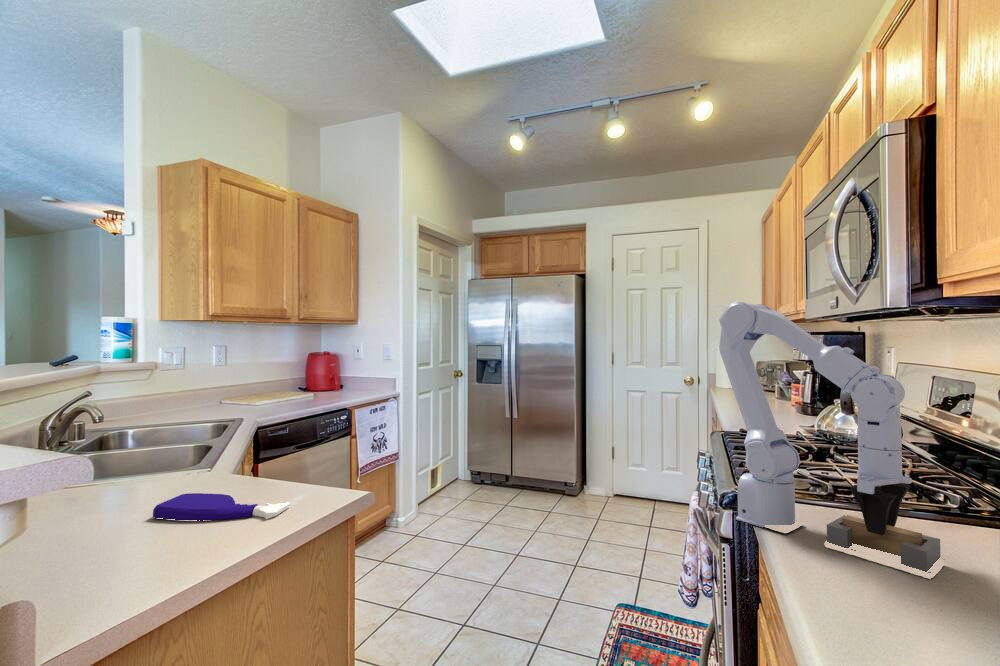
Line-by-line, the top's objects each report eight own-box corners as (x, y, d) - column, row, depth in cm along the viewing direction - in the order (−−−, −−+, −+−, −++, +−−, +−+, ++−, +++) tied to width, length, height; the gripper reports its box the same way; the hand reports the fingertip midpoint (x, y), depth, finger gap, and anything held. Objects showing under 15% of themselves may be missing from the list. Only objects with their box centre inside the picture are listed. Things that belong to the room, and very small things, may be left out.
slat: (842, 541, 81) (842, 518, 81) (847, 538, 82) (847, 515, 82) (918, 563, 73) (917, 537, 73) (922, 558, 74) (922, 533, 74)
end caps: (826, 542, 80) (826, 524, 81) (844, 531, 85) (844, 515, 85) (926, 572, 70) (926, 551, 70) (940, 558, 75) (940, 539, 75)
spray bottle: (147, 508, 92) (266, 512, 91) (187, 491, 103) (294, 495, 102) (146, 523, 92) (266, 528, 91) (186, 504, 103) (294, 508, 102)
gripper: (896, 457, 71) (898, 548, 70) (923, 446, 79) (925, 526, 79) (841, 449, 76) (842, 533, 76) (871, 439, 85) (873, 514, 84)
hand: (881, 529), depth 78 cm, fingers open, 5 cm apart
